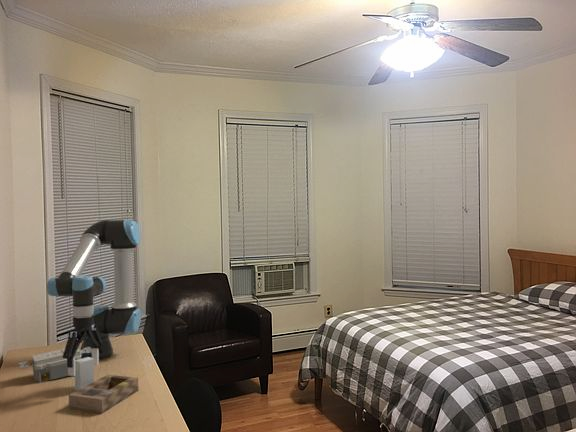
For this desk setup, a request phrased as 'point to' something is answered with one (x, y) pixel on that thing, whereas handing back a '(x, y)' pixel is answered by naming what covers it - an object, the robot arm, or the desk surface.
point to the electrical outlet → (51, 364)
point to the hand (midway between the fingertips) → (83, 369)
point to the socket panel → (103, 393)
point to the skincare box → (84, 372)
